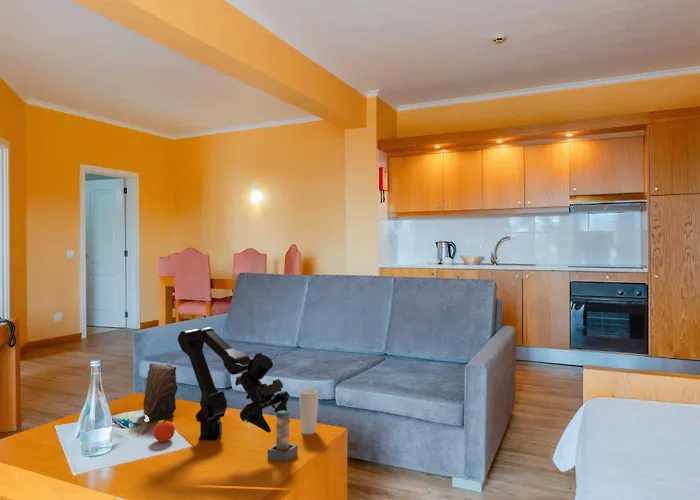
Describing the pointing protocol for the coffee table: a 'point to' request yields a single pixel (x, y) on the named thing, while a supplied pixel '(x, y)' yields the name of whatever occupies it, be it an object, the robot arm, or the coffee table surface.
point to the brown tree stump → (160, 392)
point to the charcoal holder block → (282, 453)
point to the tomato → (163, 431)
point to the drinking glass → (308, 410)
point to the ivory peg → (282, 431)
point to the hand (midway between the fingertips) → (279, 427)
